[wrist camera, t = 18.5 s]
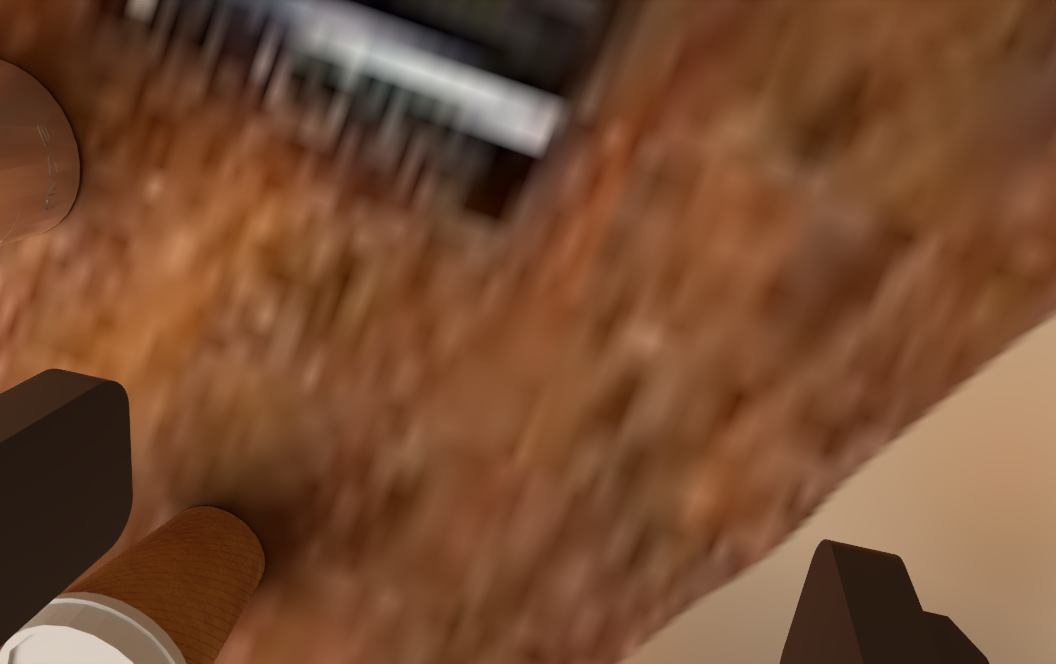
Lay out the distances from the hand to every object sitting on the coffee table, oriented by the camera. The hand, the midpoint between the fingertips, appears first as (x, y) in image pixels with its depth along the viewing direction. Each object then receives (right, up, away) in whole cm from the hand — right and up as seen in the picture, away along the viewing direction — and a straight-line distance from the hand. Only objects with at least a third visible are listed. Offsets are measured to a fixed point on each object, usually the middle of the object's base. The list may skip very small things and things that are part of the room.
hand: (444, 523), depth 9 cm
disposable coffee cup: (-18, -11, +40) cm, 45 cm away
